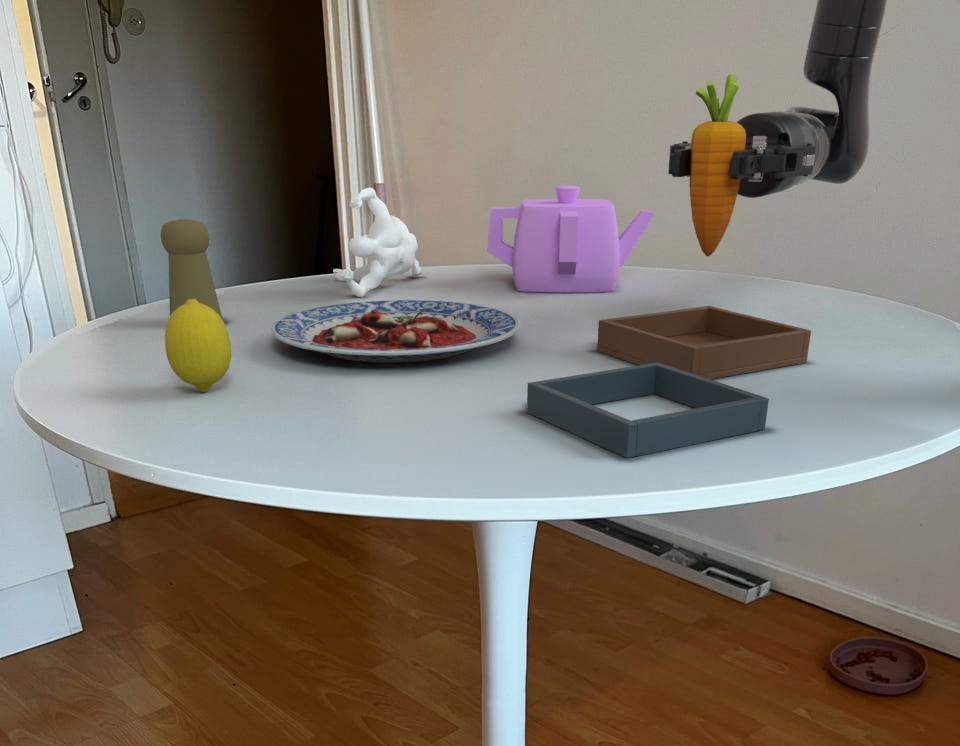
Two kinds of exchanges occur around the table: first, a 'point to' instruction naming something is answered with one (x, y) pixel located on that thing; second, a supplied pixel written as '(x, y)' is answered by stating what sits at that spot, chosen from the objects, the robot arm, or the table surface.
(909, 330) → the table surface
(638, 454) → the dark blue-gray square frame
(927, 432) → the table surface
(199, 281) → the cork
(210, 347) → the lemon
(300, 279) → the table surface
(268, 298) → the table surface
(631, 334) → the walnut tray
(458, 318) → the ceramic plate
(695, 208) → the carrot
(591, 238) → the teakettle
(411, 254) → the person figurine
